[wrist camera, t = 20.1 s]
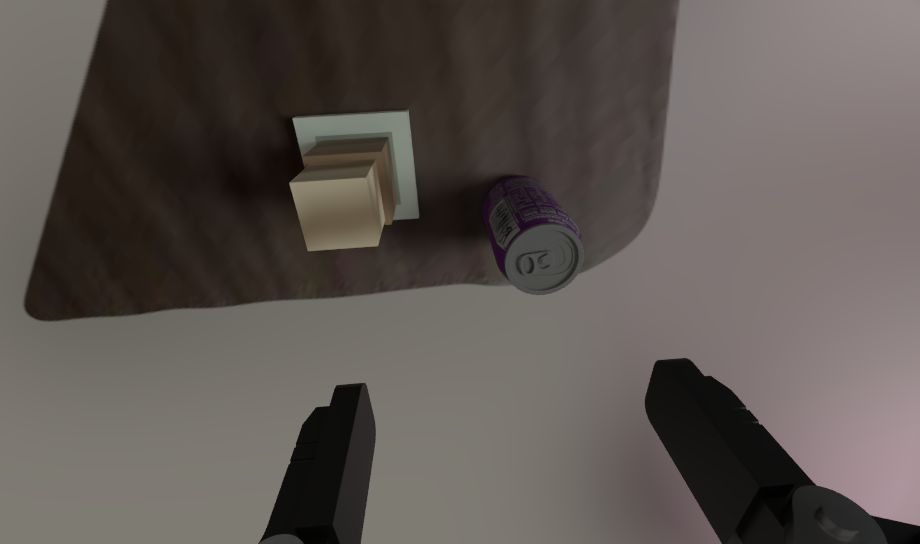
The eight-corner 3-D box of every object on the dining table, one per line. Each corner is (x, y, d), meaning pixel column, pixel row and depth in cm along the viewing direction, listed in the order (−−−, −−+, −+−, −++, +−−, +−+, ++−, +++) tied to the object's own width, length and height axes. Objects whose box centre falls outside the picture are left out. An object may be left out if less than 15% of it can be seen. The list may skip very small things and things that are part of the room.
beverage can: (489, 245, 42) (508, 308, 32) (474, 184, 39) (490, 232, 28) (553, 229, 42) (593, 288, 31) (544, 165, 38) (586, 207, 28)
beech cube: (310, 163, 29) (289, 182, 25) (375, 159, 30) (366, 177, 25) (324, 224, 32) (308, 251, 28) (385, 220, 32) (377, 245, 28)
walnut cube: (321, 140, 34) (301, 156, 29) (388, 136, 35) (381, 151, 29) (335, 204, 37) (319, 229, 32) (397, 200, 38) (391, 224, 32)
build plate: (296, 116, 34) (292, 118, 33) (408, 109, 35) (407, 111, 34) (321, 220, 39) (318, 225, 38) (419, 213, 40) (418, 218, 39)
